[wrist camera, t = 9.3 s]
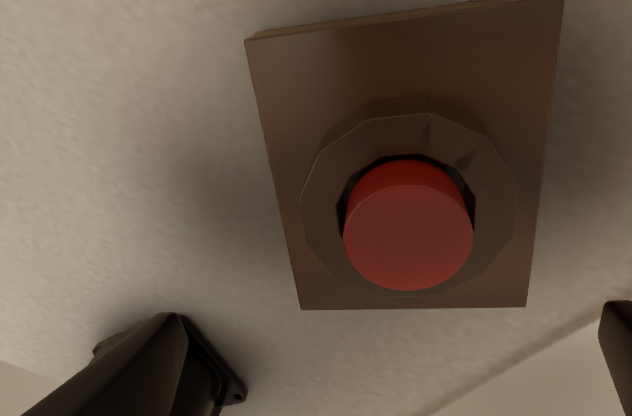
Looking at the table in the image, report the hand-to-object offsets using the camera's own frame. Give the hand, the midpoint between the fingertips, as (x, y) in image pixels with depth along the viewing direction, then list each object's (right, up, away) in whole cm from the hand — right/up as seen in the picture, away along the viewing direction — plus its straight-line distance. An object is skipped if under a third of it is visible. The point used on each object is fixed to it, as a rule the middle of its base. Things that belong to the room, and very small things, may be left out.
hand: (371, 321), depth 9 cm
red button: (+2, +2, +4) cm, 5 cm away
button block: (+2, +4, +7) cm, 8 cm away
